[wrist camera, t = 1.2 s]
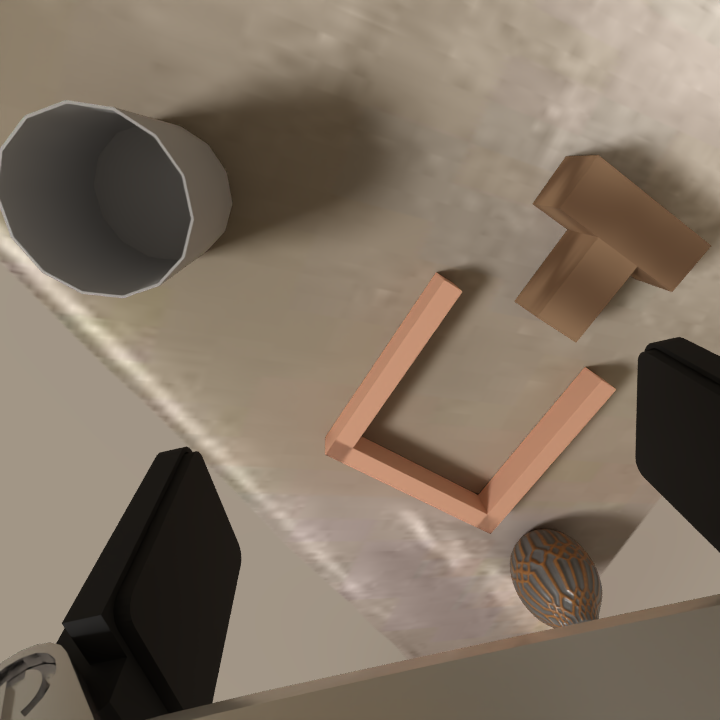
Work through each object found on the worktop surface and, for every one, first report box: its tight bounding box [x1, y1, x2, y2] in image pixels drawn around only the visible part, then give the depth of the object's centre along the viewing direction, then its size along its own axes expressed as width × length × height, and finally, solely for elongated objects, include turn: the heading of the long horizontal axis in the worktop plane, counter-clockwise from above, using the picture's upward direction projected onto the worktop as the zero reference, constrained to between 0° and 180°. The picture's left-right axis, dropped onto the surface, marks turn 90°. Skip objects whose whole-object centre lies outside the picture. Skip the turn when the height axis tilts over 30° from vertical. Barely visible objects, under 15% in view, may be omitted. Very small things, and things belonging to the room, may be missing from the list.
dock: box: [325, 272, 616, 534], centre depth 37 cm, size 16×16×2 cm
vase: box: [510, 529, 602, 628], centre depth 40 cm, size 7×7×9 cm
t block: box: [515, 155, 711, 342], centre depth 32 cm, size 10×10×4 cm
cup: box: [0, 100, 233, 298], centre depth 26 cm, size 8×8×10 cm
